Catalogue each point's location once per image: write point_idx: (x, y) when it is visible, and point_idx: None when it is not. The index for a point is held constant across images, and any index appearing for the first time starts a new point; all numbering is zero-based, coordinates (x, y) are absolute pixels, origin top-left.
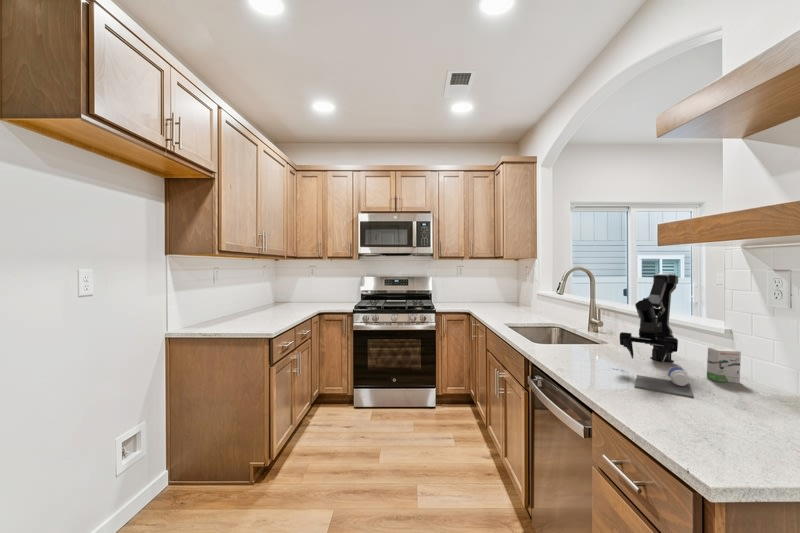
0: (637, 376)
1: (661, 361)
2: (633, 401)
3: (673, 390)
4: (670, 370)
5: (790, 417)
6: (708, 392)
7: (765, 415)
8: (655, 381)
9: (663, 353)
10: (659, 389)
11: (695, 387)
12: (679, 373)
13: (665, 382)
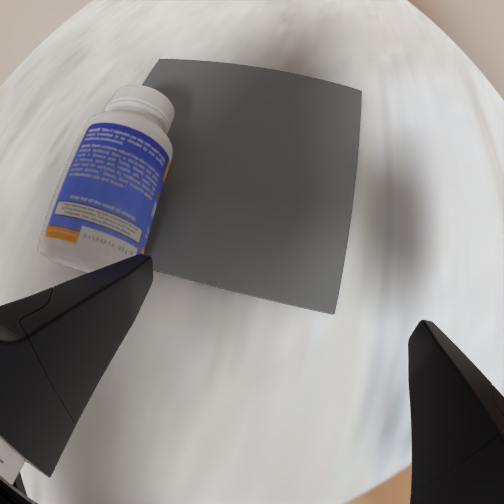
0: (337, 270)
1: (151, 258)
2: (356, 9)
3: (206, 86)
4: (132, 197)
5: (20, 66)
6: (58, 157)
7: (60, 45)
8: (248, 196)
9: (76, 291)
10: (266, 77)
11: None
12: (130, 96)
13: (192, 200)
